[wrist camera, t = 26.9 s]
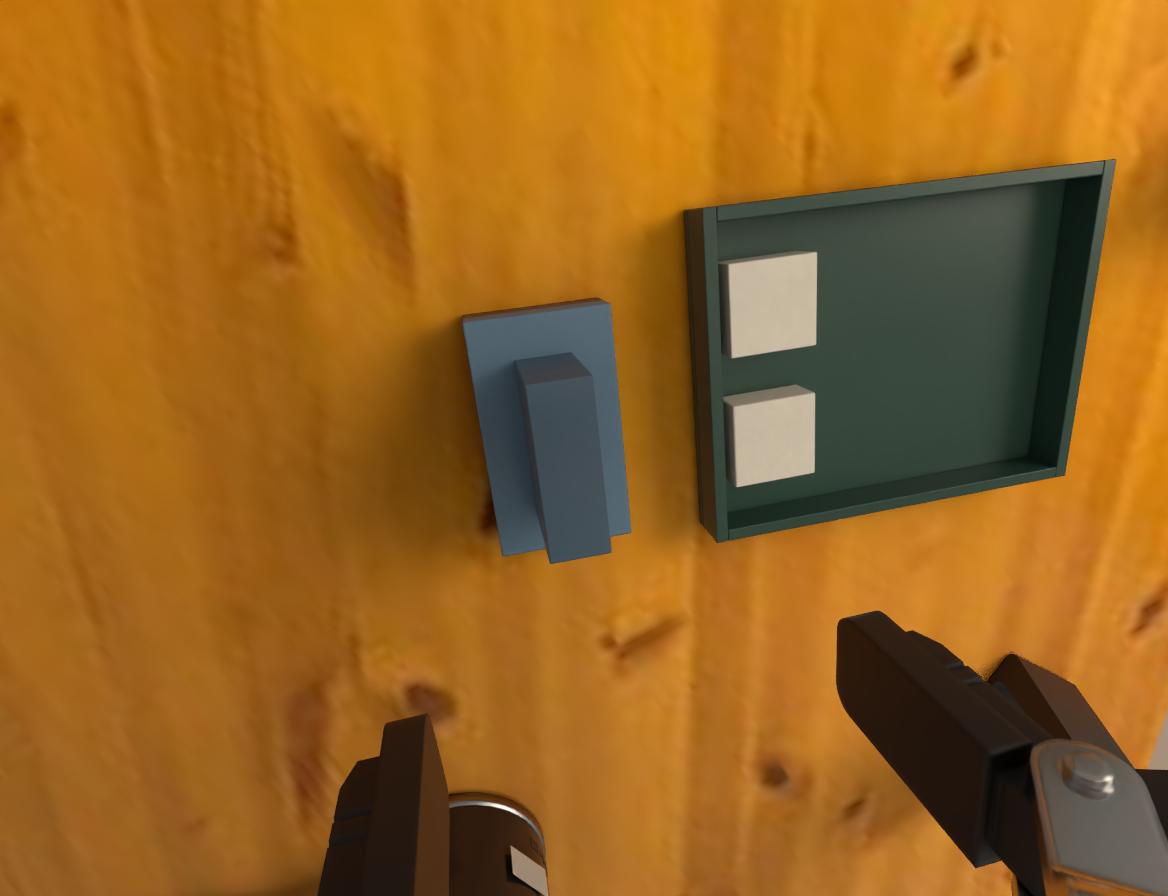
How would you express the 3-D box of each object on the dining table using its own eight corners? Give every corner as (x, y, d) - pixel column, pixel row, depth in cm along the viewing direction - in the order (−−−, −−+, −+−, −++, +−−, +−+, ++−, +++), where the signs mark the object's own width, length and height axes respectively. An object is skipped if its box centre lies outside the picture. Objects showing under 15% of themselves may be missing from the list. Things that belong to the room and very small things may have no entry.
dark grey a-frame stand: (1011, 651, 39) (1228, 815, 28) (1069, 681, 41) (1294, 846, 30) (925, 758, 41) (1097, 953, 30) (984, 782, 43) (1167, 974, 32)
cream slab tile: (716, 351, 29) (731, 358, 27) (712, 262, 28) (728, 264, 26) (796, 338, 30) (816, 345, 28) (796, 250, 28) (817, 251, 27)
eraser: (499, 532, 31) (509, 613, 24) (462, 315, 27) (462, 341, 20) (619, 511, 31) (660, 583, 25) (598, 297, 28) (640, 316, 21)
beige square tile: (721, 474, 31) (736, 488, 30) (717, 397, 30) (732, 406, 28) (796, 460, 32) (815, 473, 30) (796, 383, 30) (815, 392, 29)
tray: (700, 523, 32) (716, 543, 30) (683, 210, 27) (702, 208, 25) (1028, 461, 35) (1065, 475, 33) (1069, 164, 30) (1116, 159, 28)
